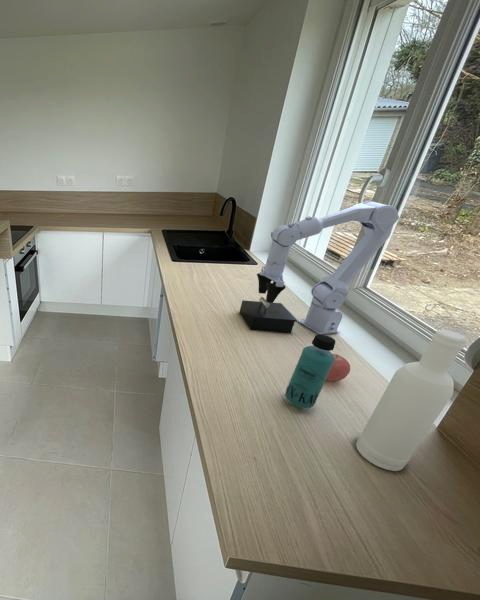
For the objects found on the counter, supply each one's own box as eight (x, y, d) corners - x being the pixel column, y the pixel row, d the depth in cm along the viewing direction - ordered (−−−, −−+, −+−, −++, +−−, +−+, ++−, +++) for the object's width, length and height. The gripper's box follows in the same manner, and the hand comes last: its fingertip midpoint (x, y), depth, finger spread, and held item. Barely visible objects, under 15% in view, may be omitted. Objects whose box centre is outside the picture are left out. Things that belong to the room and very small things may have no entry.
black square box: (275, 315, 124) (278, 304, 122) (290, 333, 112) (294, 322, 110) (239, 312, 126) (241, 302, 124) (250, 330, 114) (253, 318, 112)
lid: (280, 304, 122) (283, 294, 120) (296, 322, 110) (300, 310, 108) (241, 301, 124) (244, 291, 122) (253, 318, 112) (256, 307, 110)
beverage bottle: (284, 391, 85) (309, 326, 76) (314, 403, 81) (344, 336, 73) (280, 405, 81) (305, 338, 72) (311, 418, 77) (342, 349, 68)
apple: (329, 388, 86) (340, 364, 83) (305, 372, 93) (314, 349, 89) (350, 384, 88) (361, 360, 85) (325, 368, 95) (335, 345, 91)
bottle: (356, 459, 67) (426, 337, 54) (353, 433, 73) (415, 318, 60) (407, 479, 63) (496, 353, 50) (399, 450, 69) (477, 331, 56)
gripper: (256, 254, 117) (247, 288, 123) (272, 267, 104) (260, 305, 110) (277, 255, 116) (267, 290, 122) (295, 269, 103) (283, 307, 109)
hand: (265, 297), depth 116 cm, fingers open, 7 cm apart
